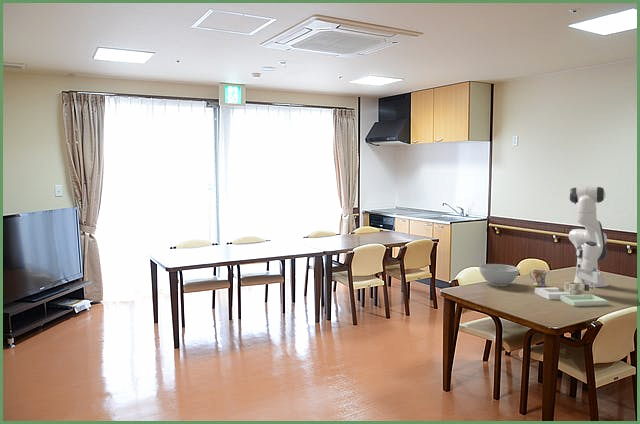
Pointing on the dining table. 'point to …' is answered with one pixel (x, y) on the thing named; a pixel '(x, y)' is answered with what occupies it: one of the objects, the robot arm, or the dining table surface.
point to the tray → (583, 300)
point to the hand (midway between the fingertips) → (588, 287)
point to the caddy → (575, 288)
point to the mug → (539, 278)
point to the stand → (550, 293)
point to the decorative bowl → (498, 274)
